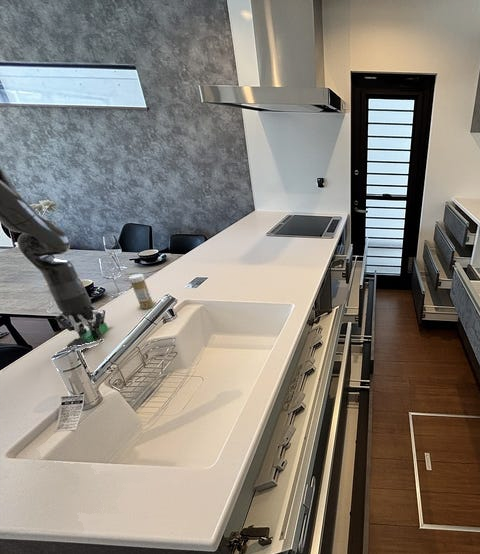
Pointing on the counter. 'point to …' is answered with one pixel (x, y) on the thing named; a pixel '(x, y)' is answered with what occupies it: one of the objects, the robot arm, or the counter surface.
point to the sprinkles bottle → (141, 291)
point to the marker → (87, 337)
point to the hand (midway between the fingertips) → (92, 338)
